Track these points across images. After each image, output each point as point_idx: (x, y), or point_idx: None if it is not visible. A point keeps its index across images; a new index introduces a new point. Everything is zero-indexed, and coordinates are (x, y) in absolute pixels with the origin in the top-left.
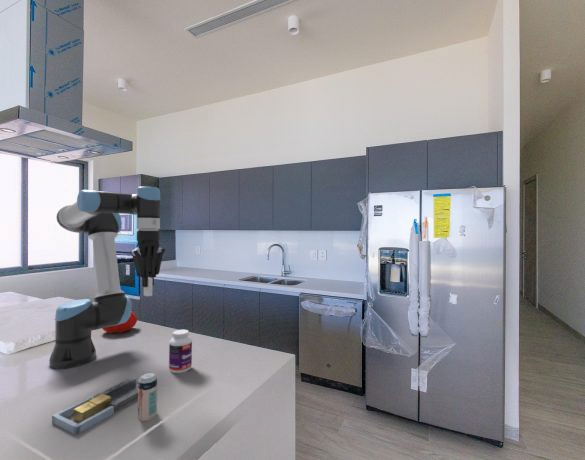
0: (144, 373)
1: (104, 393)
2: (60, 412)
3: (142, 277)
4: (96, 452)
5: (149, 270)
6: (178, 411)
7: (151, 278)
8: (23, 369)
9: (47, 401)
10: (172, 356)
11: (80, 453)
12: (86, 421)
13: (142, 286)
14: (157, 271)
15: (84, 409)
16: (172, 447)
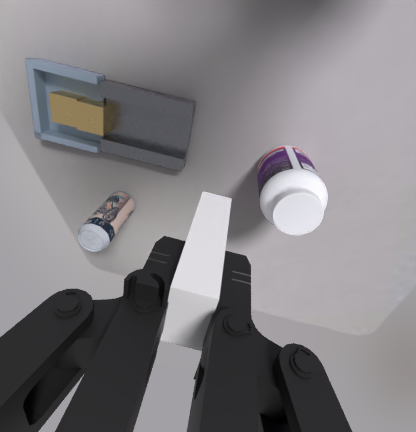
0: (92, 232)
1: (117, 97)
2: (38, 66)
3: (116, 310)
4: (46, 185)
5: (195, 409)
6: (151, 234)
7: (189, 341)
8: None
9: None
10: (259, 179)
11: (35, 167)
12: (51, 141)
13: (162, 237)
14: (268, 429)
15: (59, 115)
16: (96, 258)
